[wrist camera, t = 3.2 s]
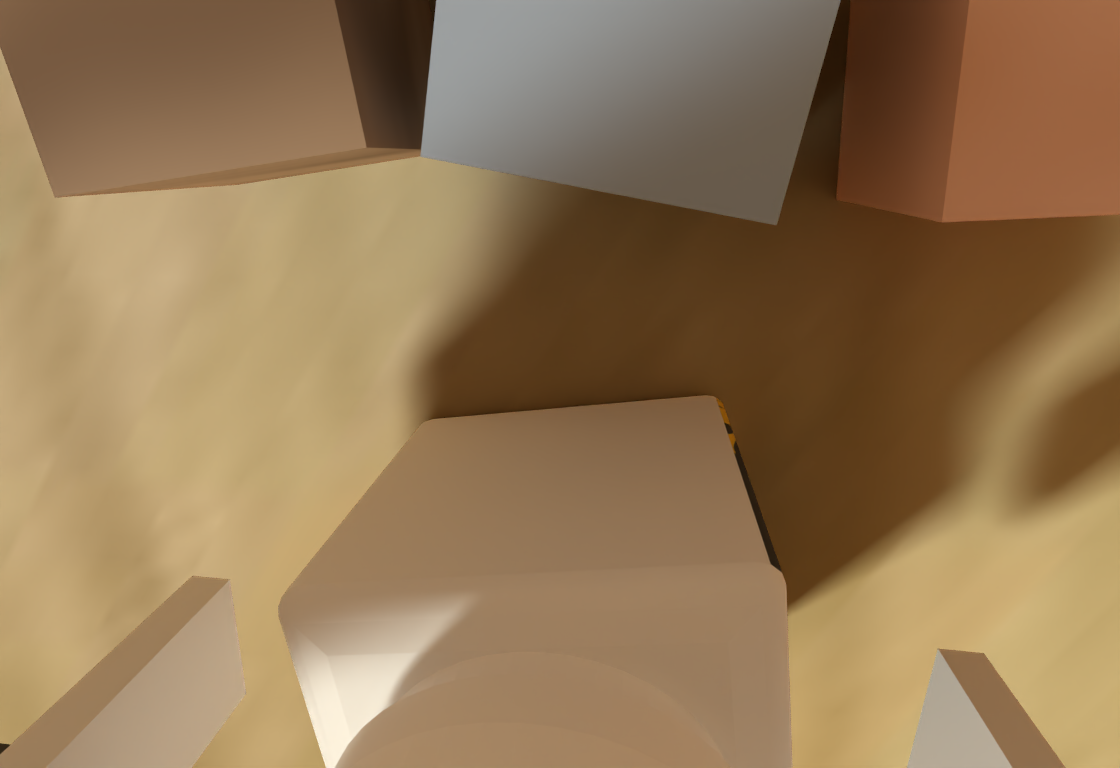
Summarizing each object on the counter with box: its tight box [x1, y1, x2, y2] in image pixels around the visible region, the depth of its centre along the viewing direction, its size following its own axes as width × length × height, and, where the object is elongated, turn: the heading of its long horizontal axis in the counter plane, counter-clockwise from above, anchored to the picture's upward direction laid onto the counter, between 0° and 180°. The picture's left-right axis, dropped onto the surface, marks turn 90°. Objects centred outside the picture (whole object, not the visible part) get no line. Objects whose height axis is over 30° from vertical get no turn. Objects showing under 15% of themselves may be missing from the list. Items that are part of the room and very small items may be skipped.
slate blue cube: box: [420, 0, 841, 225], centre depth 11 cm, size 5×5×5 cm
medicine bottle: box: [278, 395, 792, 768], centre depth 11 cm, size 7×7×12 cm
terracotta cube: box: [836, 0, 1120, 222], centre depth 10 cm, size 5×5×5 cm
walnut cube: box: [0, 0, 434, 197], centre depth 11 cm, size 5×5×5 cm
